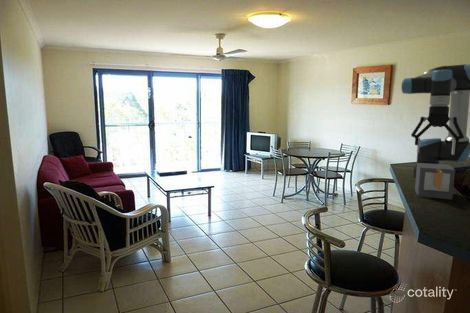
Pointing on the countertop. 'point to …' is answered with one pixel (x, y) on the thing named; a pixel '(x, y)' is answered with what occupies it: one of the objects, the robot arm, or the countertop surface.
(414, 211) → the countertop surface
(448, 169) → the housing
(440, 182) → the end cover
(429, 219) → the countertop surface
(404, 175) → the countertop surface
